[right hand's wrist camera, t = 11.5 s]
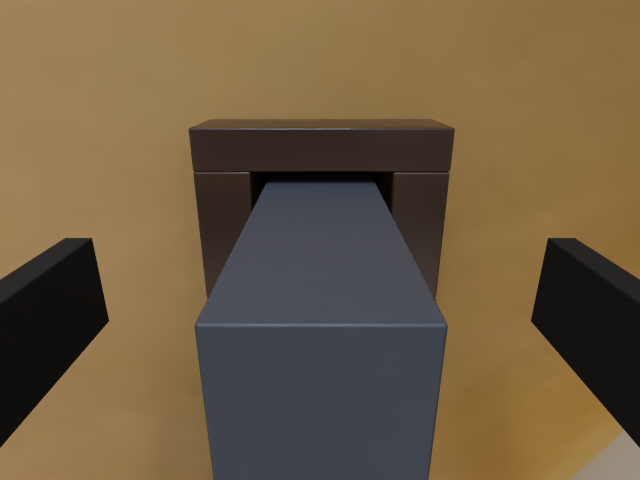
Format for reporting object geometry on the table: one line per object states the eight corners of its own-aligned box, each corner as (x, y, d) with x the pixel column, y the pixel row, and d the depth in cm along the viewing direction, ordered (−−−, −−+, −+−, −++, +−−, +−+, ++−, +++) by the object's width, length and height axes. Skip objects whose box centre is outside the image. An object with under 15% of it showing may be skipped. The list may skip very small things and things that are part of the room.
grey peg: (364, 255, 19) (426, 505, 8) (276, 255, 19) (215, 506, 8) (368, 168, 18) (448, 324, 7) (272, 168, 18) (193, 324, 7)
